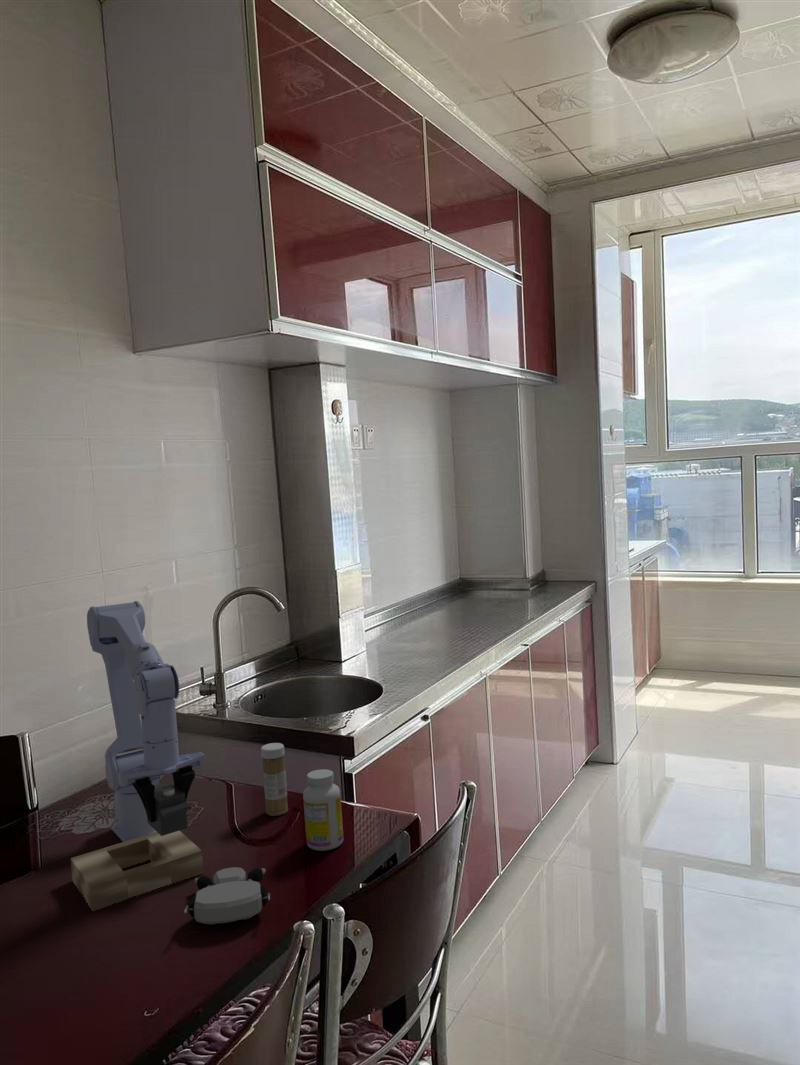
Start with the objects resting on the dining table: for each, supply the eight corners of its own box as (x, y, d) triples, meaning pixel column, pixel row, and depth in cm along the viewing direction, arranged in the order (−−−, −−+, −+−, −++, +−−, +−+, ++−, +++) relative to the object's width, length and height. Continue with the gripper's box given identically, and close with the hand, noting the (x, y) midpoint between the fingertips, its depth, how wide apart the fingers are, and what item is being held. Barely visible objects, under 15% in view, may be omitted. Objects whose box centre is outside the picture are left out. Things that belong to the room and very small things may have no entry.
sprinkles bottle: (281, 805, 160) (276, 740, 159) (292, 812, 156) (288, 745, 155) (261, 812, 157) (256, 746, 156) (272, 819, 153) (268, 751, 153)
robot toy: (192, 896, 127) (185, 940, 112) (190, 868, 127) (183, 908, 112) (269, 884, 129) (272, 926, 115) (267, 857, 129) (269, 895, 115)
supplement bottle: (332, 832, 146) (328, 764, 145) (350, 844, 140) (346, 773, 139) (300, 843, 142) (295, 773, 141) (317, 856, 136) (312, 783, 136)
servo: (142, 818, 139) (139, 781, 139) (167, 811, 142) (164, 774, 141) (166, 840, 129) (163, 800, 129) (193, 832, 132) (190, 792, 131)
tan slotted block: (72, 880, 133) (70, 858, 132) (176, 847, 143) (174, 826, 143) (92, 911, 122) (90, 887, 122) (203, 873, 133) (201, 850, 132)
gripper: (124, 754, 127) (131, 836, 128) (209, 733, 136) (215, 810, 136) (111, 744, 133) (118, 822, 133) (194, 725, 141) (199, 799, 142)
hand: (166, 815), depth 135 cm, fingers closed on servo, 4 cm apart
